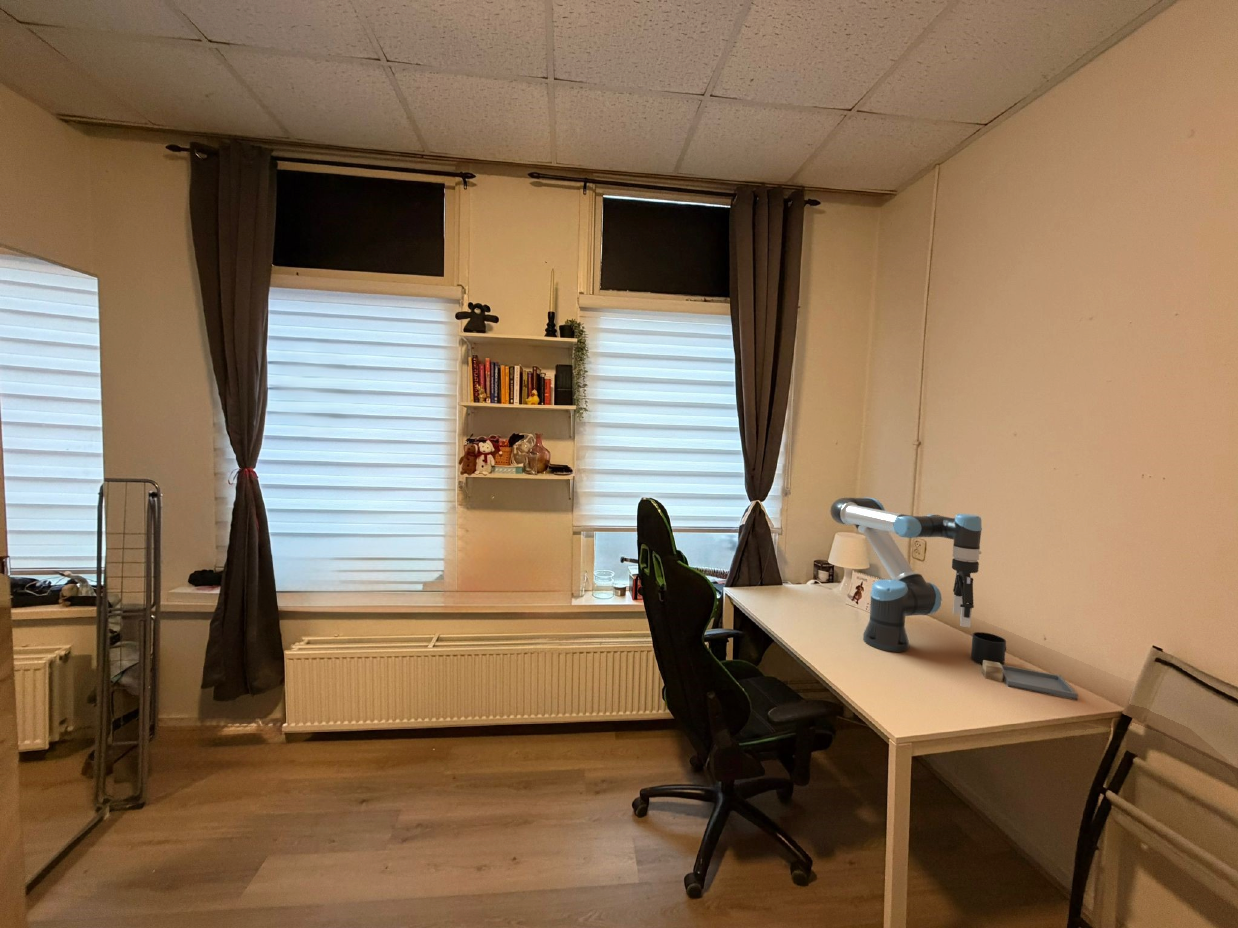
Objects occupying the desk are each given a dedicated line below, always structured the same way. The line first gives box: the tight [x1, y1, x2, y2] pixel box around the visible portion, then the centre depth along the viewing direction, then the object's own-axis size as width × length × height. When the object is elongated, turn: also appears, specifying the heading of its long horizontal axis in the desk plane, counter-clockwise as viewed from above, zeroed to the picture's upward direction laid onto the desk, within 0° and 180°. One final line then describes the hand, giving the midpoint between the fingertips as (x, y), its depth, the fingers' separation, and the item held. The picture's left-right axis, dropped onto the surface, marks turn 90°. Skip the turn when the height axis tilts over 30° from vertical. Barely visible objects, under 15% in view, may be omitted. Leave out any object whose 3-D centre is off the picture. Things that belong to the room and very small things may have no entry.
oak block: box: [981, 660, 1003, 683], centre depth 165 cm, size 4×4×4 cm
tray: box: [1001, 664, 1079, 701], centre depth 161 cm, size 17×14×2 cm
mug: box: [970, 631, 1007, 666], centre depth 176 cm, size 9×12×9 cm
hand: (961, 620), depth 173 cm, fingers open, 13 cm apart
